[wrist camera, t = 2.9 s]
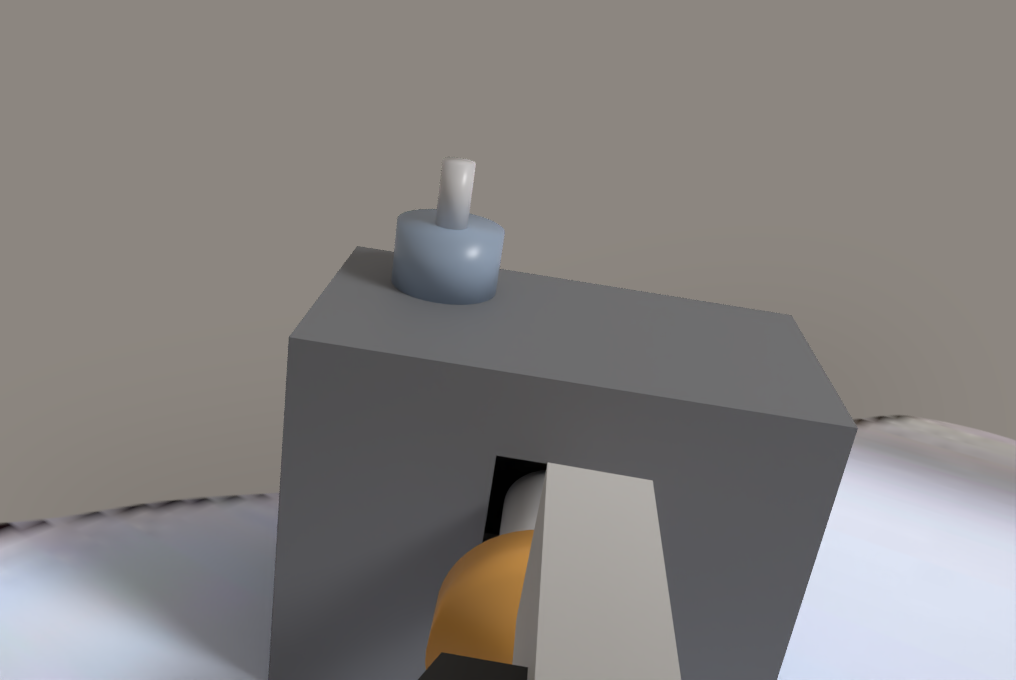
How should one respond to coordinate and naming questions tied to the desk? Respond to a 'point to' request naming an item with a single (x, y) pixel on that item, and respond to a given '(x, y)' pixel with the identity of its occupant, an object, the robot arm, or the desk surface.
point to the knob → (488, 584)
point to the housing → (543, 458)
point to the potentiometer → (448, 245)
